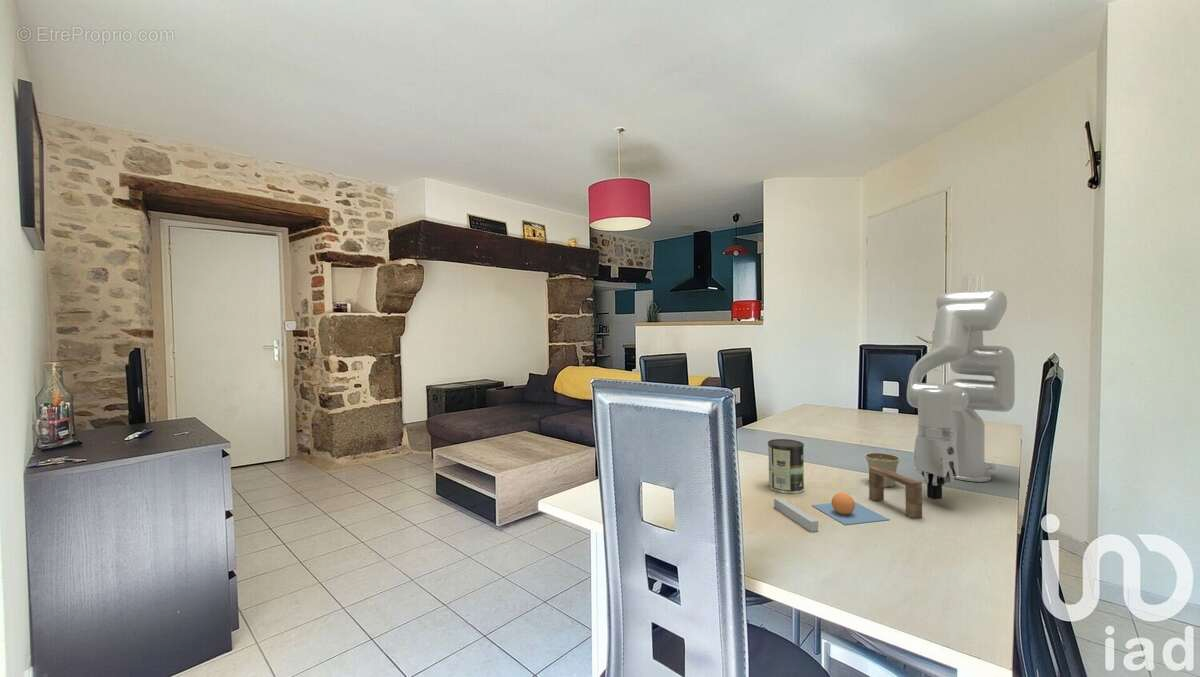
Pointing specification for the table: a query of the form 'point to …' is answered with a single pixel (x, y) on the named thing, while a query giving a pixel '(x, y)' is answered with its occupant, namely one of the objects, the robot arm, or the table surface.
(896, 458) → the flower pot
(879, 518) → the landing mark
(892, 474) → the bridge
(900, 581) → the table surface
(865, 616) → the table surface
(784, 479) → the coffee can
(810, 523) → the wall
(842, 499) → the ball
